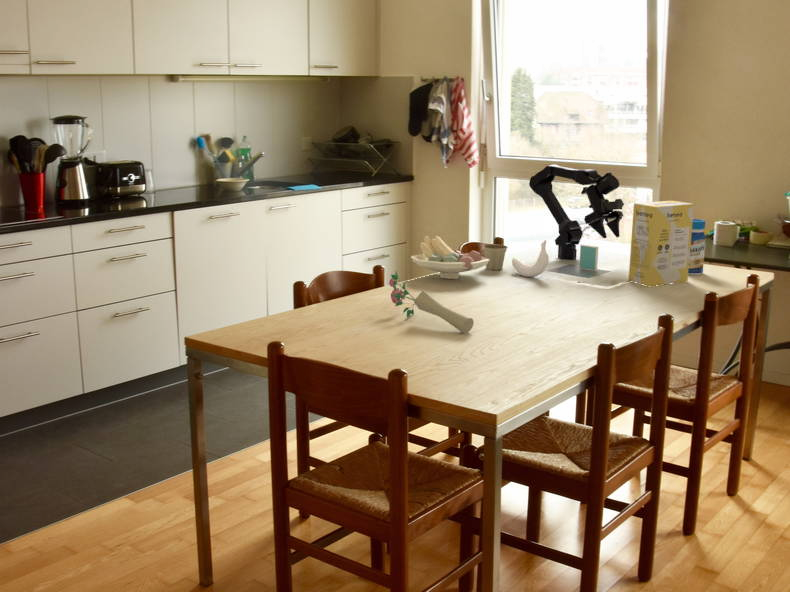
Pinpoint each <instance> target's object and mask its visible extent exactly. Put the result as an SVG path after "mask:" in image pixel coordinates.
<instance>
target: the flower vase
mask: <svg viewBox="0 0 790 592" xmlns="http://www.w3.org/2000/svg"><path fill="white" fill-rule="evenodd" d="M390 277H391V278H390V280H389V282H388V284H389V287H391V288H393V289H392V291H391V293H390V300H391V301H392V303H393V304H395V305H394V306H395V307H399V306H401V305H404V302H403V300H405V299H408V300H411V301H413V303H412V306H411V307H408V306H407V307H405V308H404V309H403V312H402V313H403V314H405V313H406V317H407V319H409V318H410V316H411V315H413V316H414V315H415V310H414V306H416V307H417V308H418V310H420V311H423V312H425V313H428V314H431V315H434V316H436V317H439V318H441V319H442V320H444V321H445V322H446V323H448V324H449V325H451V326H452V327H454V328H455V329H456V330H458V331H460V332H461V333H463V334H464V335H465V334H468V333H469V332H471V330H472V329H473V327H474V323H475V322H474V319H473V318H472V317H470V316H467V315H464V314H462V313H461V312H458V311H456V310H453V309H451V308H449V307H447V306H445V305H444V304H442V303H441V302H440V301H438V300H437V299H436V298H435V297H433V296H432V295H431V294H429V293H428V292H426V290H422V291H421V292H420V293H419V294H418V296H416V298H415V297H414V296H412V294H410V292H409V291H408V290H407V289H406V283H405V282H403V284H402V285H401V284H400V283H398V281H399V282H401V280H400V277H399V274H398V271H397V270H395V274H390ZM397 285H398V286H399V287H401V288H400V289H399V287H398V288H397V287H396V286H397ZM403 290H404V291H403ZM408 295H409V296H410V297H409V296H408ZM405 304H408V305H409V303H406V302H405Z"/></svg>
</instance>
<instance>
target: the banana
mask: <svg viewBox="0 0 790 592" xmlns="http://www.w3.org/2000/svg"><path fill="white" fill-rule="evenodd" d="M540 246H541V249H540V252H539V254H538V257H537V260H536V261H535V262H534V263H533V264H526V263H525V262H524V261H522V260H521V259H519V258H518V257H513V258H512V260H511V263H512V266H513V267H512V268H514V270H515V271H516V272H517V273H518V274H519V275H521V276H523V277H526V278H527V277H528V278H535V277H539V276H540V275H542V274H543V273H544V272H545V271H546V270H547V267H548V265H549V261H550V260H549V254H548V252H547V250H546V246H547V239H545V240H544V241H542V243H541V244H540Z"/></svg>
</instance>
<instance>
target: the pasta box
mask: <svg viewBox="0 0 790 592" xmlns="http://www.w3.org/2000/svg"><path fill="white" fill-rule="evenodd" d="M694 208H695V203H692V202H684V201H677V200H661V201H649V202H647V201H646V202H635V203H633V213H632V228H631V240H630V241H631V243H630V256H629V268H628V269H629V270H628V282H629V281H633V282H637V283H640V284H644V285H647V286H646V287H648V286H655V287H657V286H656V285H662V284H669V285H671V284H670V283H676V284H678V283H677V282H683V283H686V282H685V281H687V282H688V279H689V275H688V270H689V258H690V246H691V235H692V223H693V219H694ZM633 282H632V283H633ZM637 283H636V284H637ZM640 284H639V285H640ZM644 285H643V286H644ZM662 286H663V285H662Z"/></svg>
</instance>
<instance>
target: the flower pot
mask: <svg viewBox="0 0 790 592" xmlns="http://www.w3.org/2000/svg"><path fill="white" fill-rule="evenodd" d="M482 248H483V251H484V257H485V258H487V259H489V262H488V263H487V265H485V269H486V270H489V271H492V270H494V271H500V270H502V269H503V268H504V260H505V257H506V256H505V255H506V252H507V249H508V248H509V247H508V246H506V245H505V244H494V243H493V244H491V243H490V244H483V245H482Z"/></svg>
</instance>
